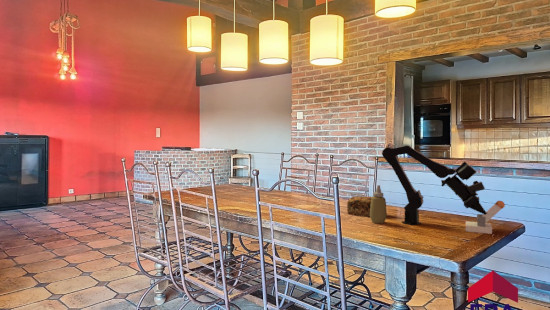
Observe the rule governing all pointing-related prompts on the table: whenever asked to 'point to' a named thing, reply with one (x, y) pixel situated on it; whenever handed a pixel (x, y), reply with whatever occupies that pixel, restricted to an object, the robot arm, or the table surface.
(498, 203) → the lever
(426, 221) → the table surface
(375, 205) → the squeeze bottle
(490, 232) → the block
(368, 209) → the bread
